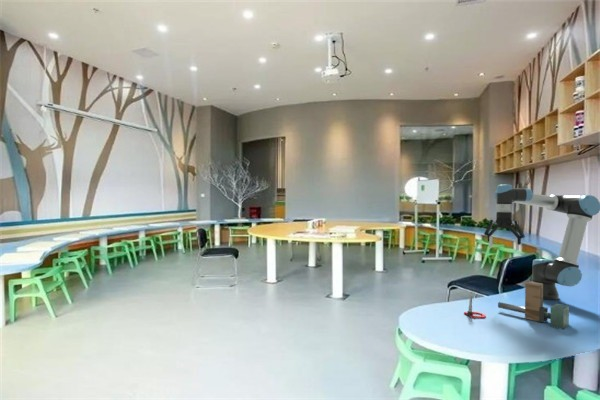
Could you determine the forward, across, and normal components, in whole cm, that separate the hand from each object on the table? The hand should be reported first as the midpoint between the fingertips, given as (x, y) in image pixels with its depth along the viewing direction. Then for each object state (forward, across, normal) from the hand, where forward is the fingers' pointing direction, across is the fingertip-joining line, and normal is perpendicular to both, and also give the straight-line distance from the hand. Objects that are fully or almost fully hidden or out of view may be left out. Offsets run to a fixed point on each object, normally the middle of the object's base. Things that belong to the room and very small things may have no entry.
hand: (503, 248), depth 196 cm
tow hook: (+32, -2, -32) cm, 45 cm away
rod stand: (+32, +18, -15) cm, 39 cm away
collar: (+32, +23, -15) cm, 42 cm away
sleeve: (+32, +19, -15) cm, 40 cm away
